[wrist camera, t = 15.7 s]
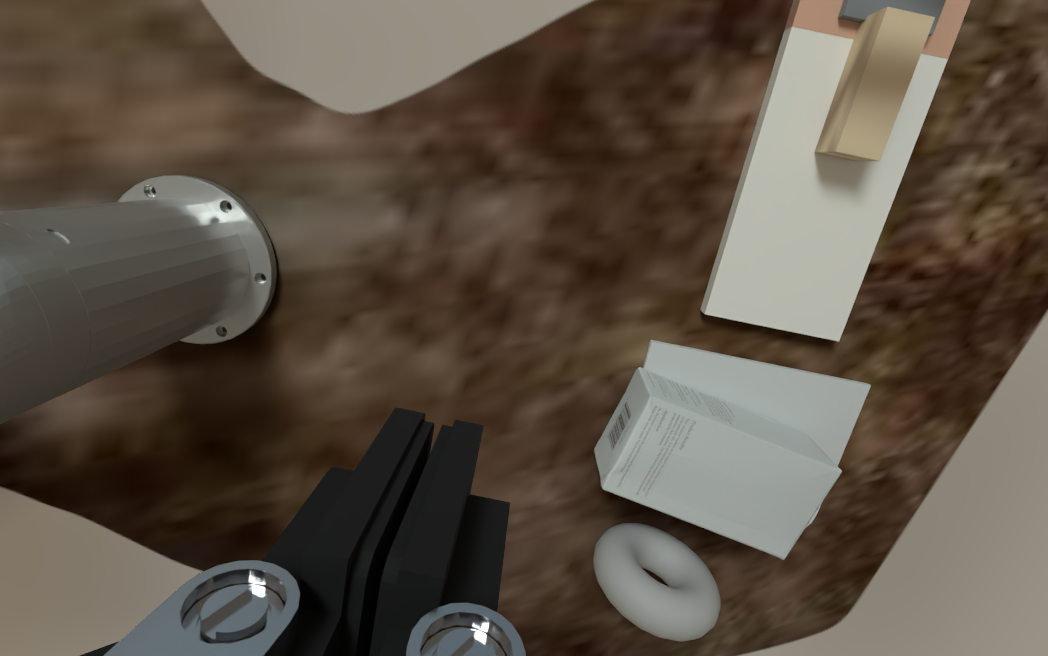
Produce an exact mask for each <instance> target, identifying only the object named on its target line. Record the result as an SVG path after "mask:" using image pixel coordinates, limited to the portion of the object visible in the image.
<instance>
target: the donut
mask: <svg viewBox="0 0 1048 656" xmlns="http://www.w3.org/2000/svg"><path fill="white" fill-rule="evenodd" d="M593 565H594V570H595V573H596V577H597V581H598V583H599V585H600V587H601V588H602V590H603V592H604V593H605V595H606V596H607V598H608V600H609V601H610V603H611V604H612V605H613V606H614V607H615V608H616V609H617V610H618V611H619V612H620V613H621V614H622V615H623V616H624V617H625V618H626V619H628V620H629V621H631V622H632V623H633V624H635V625H636V626H637V627H639V628H640V629H642V630H644V631H646V632H648V633H651V634H653V635H655V636H657V637H660V638H665V639H670V640H675V641H680V642H681V641H688V640H694V639H698V638H701V637H702V636H703V635H704V634H706V633H707V632H708V631H709V630H711V629H712V628H713V627H714V626H715V624H716V621H717V618H718V614H719V611H720V607H721V605H720V596H719V591H718V587H717V584H716V582H715V580H714V578H713V576H712V575H711V573H710V571H709V569H708V567H707V566H706V565H705V564H704V563H703V561H702V560H701V559H700V558H699V557H698V555H697V554H695V553H694V552H693V551H692V550H691V549H690V548H689V547H687V546H686V545H685V544H684V543H683V542H681V541H679V540H678V539H676V538H675V537H673V536H672V535H670V534H669V533H666V532H664V531H662V530H660V529H657V528H655V527H653V526H649V525H645V524H641V523H621V524H619V525H616V526H614V527H611V528H609V529H608V530H606V531H605V533H604V534H603V535H602V536H601V538H600V539H599V540H598V542H597V543H596V546H595V550H594V559H593ZM642 568H644V569H647V570H649V571H651V572H653V573H654V574H656V575H657V576H659V577H660V578H661V579H662V580H663V581H664V582H665V583H667V584H668V586H669V587H668V586H666V585H664V584H662V583H659V582H658V581H657V580H655V579H654V578H652V577H651V576H650V575H649V574H647V573H646V572H645V571H644V570H643V569H642Z"/></svg>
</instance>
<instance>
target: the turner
mask: <svg viewBox="0 0 1048 656" xmlns="http://www.w3.org/2000/svg"><path fill="white" fill-rule="evenodd" d="M945 2H946V0H843V3H842V6H841V9H840V12H839V15H838V18H840V19H844V20H849V21H853V22H858V23H859V26H858V28H857V31H856V34H855V37H854V40H853V43H852V46H851V49H850V51H849V54H848V57H847V60H846V63H845V66H844V69H843V72H842V74H841V77H840V80H839V83H838V86H837V89H836V92H835V95H834V97H833V100H832V103H831V106H830V109H829V112H828V115H827V118H826V121H825V123H824V126H823V129H822V132H821V135H820V138H819V141H818V144H817V146H816V149H815V153H819V154H824V155H828V156H833V157H838V158H842V159H847V160H851V161H880V160H881V157H882V155H883V152H884V149H885V147H886V144H887V142H888V139H889V136H890V134H891V131H892V128H893V126H894V123H895V121H896V118H897V115H898V113H899V110H900V108H901V105H902V102H903V100H904V97H905V95H906V92H907V89H908V87H909V84H910V82H911V79H912V76H913V74H914V71H915V69H916V66H917V63H918V61H919V58H920V55H921V53H922V50H923V48H924V45H925V42H926V40H927V37H928V36H931V35H933V33H934V30H935V28H936V25H937V22H938V20H939V17H940V15H941V12H942V9H943V7H944V4H945Z"/></svg>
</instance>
